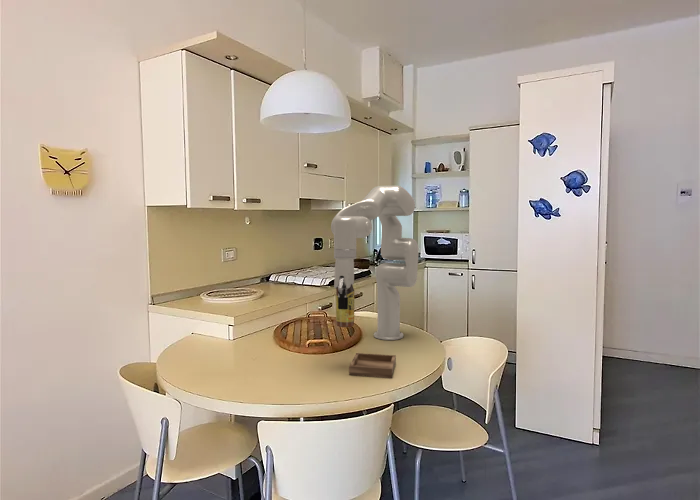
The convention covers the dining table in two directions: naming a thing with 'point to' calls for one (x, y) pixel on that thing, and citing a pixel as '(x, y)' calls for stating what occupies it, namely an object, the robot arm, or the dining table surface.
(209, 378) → the dining table surface
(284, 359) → the dining table surface
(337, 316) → the sauce bottle
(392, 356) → the tray
